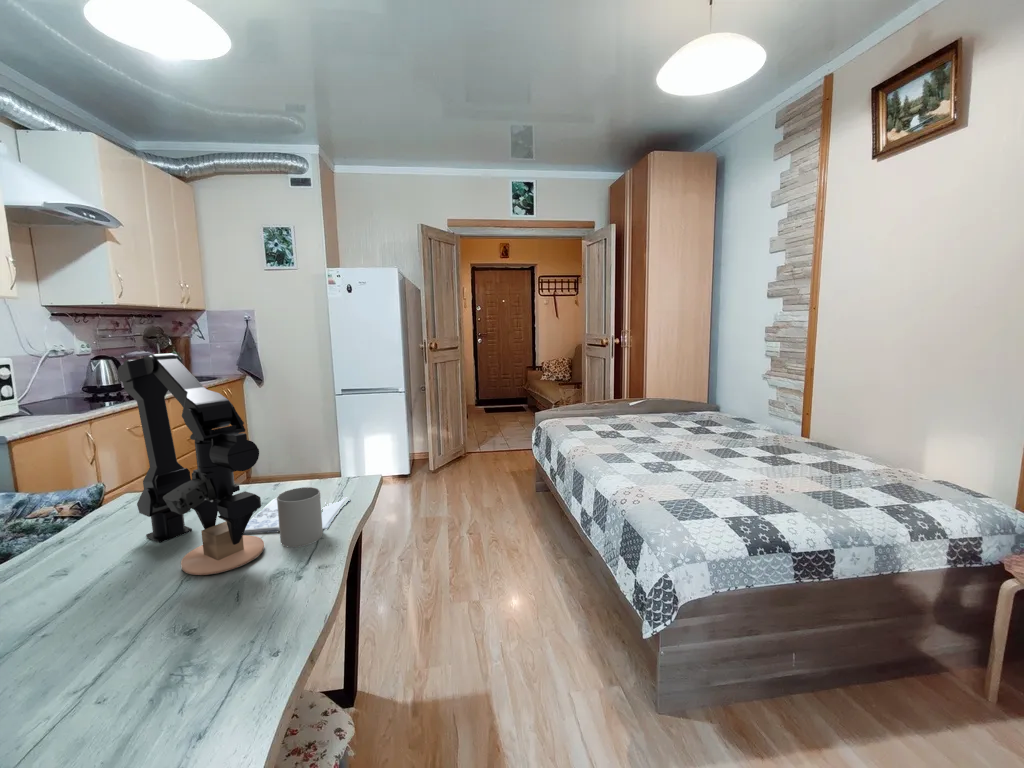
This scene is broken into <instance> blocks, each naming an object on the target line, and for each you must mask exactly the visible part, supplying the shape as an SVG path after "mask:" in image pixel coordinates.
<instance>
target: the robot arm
mask: <svg viewBox="0 0 1024 768" xmlns="http://www.w3.org/2000/svg"><path fill="white" fill-rule="evenodd" d="M117 377H118V379H119V381H120V382H121V383H122V386H123V389H124V391H125V392H126V393H127V394H128V395H129V396H131V398H133V399H134V400H135V401H136V404H137V408H138V414H139V419H140V423H141V429H142V434H143V435H142V436H143V439H144V443H145V449H146V455H147V460H148V464H149V468H148V469H147V472H146V474H145V476H144V477H143V479H142V487H143V490H142V492H141V494H140V497H139V498H138V501H137V504H136V505H137V510H138V513H139V514H141V515H143V516H146V517H148V518H150V519H151V520H150V521H151V526H152V527H151V529H152V532H149V533H146V535H145V537H146V538H149V539H150V540H152V541H154V542H156V543H159V544H160V543H164V542H167V541H169V540H172V539H175V538H178V537H180V536H183V535H186V534H188V533H192V532H193V528H191V527H189V526H186V524H185V516H184V515H185V514H187V513H188V512H190V511H191V509H193V511H194V512H195V513H196V515H197V517H198V519H199V521H200V523H201V524H202V526H203V530H204V529H207V528H210V527H212V526H215V525H217V524H216V523H217V520H218V519H217V518H219V519H221V520H223V521H224V522H227V525H228V529H229V533H230V537H231V541H232V544H233V545H235V544H238V543H239V542H240V540H241V538H242V535H244V534H243V533H244V531H245V528H246V526H247V524H248V522H249V521H250V520H251V519H252V518H251V517H252V515H253V514H254V512H257V511H258V509H261V508H262V501H261V496H259V495H258V494H255V493H252V492H250V491H249V492H248V491H245V490H244V491H242V492H239V491H240V485H239V484H237V483H236V484H235V475H234V474H235V473H234V472H246V471H248V470H251V468H252V467H254V466H255V465H256V463H257V462H258V460H259V458H260V449H259V447H258V446H257V444H256V443H255V442H254V441H252V440H249V439H248V437H247V435H248V434H247V433H245V432H246V427H245V426H244V424H245V422H244V421H243V419H242V417H241V416H240V415H239V414H238V412H237V409H235V406H234V405H233V404H232V402H231V400H229V399H228V398H227V397H225V396H224V395H222V393H220V392H217V391H214V390H210V389H207V388H206V387H205V386H204V385H203V384H201V382H200V381H199V379H197V378H196V377H195V376H194V375H193V374H192V373H191V372H190V371H189V370H188V368H187V367H186V366H185V365H184V364H183V363H182V362H181V358H180V356H179V355H178V354H175V353H172V352H171V353H169V352H167V353H155V354H154V353H151V354H150V355H146V356H144V357H143V358H138V359H126V360H124V362H123V363H122V364H120V365H119V366H118V367H117ZM168 392H169V393H170V394H171V395H172V396H173V397H174V399H176V400H177V402H178V403H179V404H180V405H181V407H182V412H181V417H182V419H183V422H184V424H185V425H186V427H187V429H188V430H189V431H190V432H191V433H192V434H191V435H190V436H189V438H190V440H192V441H194V448H195V457H196V467H197V468H196V469H193V470H192V472H190V471H191V470H189V469H188V468H187V467H184V466H182V465H181V464H180V462H178V460H177V454H176V449H175V445H174V439H173V434H172V429H171V423H170V419H169V413H168V408H167V407H168V406H167V403H166V395H167V393H168ZM236 492H239V493H236ZM234 493H236V494H234ZM218 514H219V515H218Z"/></svg>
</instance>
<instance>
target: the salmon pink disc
mask: <svg viewBox="0 0 1024 768" xmlns="http://www.w3.org/2000/svg"><path fill="white" fill-rule="evenodd" d="M243 545H244V549H243V550H241V551H239V552H236V553H234V554H232V555H229V556H227V557H225V558H223V559H220V560H215V559H213V558H211V557H209V556H206V555H204V551H203V544H202V545H199V546H197V547H195V548H193V549H192V550H190V551H188V552H187V553H186V554H185V555H184V556H183V557H182V559H181V562H180V567H181V570H182V571H183V572H184V573H186V574H188V575H195V576H204V575H206V576H207V575H213V574H215V575H216V574H219V573H223V572H228V571H231V570H234V569H237V568H239V567H242V566H244V565H246V564H249V563H251V562H252V561H254V560H255V559H257V558H258V557H259V556H260V555H261V554H262V553H263V551H264V549H265V541H264V540H263V539H262V538H261V537H258V536H256V535H248V534H247V535H246V534H243Z"/></svg>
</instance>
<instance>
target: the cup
mask: <svg viewBox="0 0 1024 768" xmlns="http://www.w3.org/2000/svg"><path fill="white" fill-rule="evenodd" d="M276 499H277V505H278V517H279V529H280V532H279V539H280V540H279V541H280V544H281V543H282V544H281V545H282V546H283V545H284V547H287V546H288V548H300V547H304V545H305V546H308V545H311V544H313V542H314V543H316V542H318V541H319V540H320V539H321V538H322V537H323V535H324V532H323V531H324V530H323V529H322V514H321V499H322V498H321V490H319V488H316V487H312V486H310V487H309V486H307V487H298V488H297V487H296V488H292V489H287V490H285V491H284V492H281V493H279V494H278V495H277V497H276ZM322 534H323V535H322ZM315 541H316V542H315ZM299 546H300V547H299Z"/></svg>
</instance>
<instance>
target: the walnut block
mask: <svg viewBox="0 0 1024 768" xmlns="http://www.w3.org/2000/svg"><path fill="white" fill-rule="evenodd" d="M243 535H244V534H243ZM243 535H242V538H241V540H240V542H239V543H238V544H235V545H233V544H232V541H231V537H230V533H229V529H228V525H227V522H226V521H223V522H221V523H220V522H219V523H218V524H215V526H212V527H210V528H207V529H204V528H203V529H202V530H201V541H202V545H203V551H204V555H206V556H209V557H211V558H213V559H215V560H220V559H223V558H225V557H227V556H229V555H232V554H234V553H236V552H239V551H241V550H243V549H244V545H243Z"/></svg>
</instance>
